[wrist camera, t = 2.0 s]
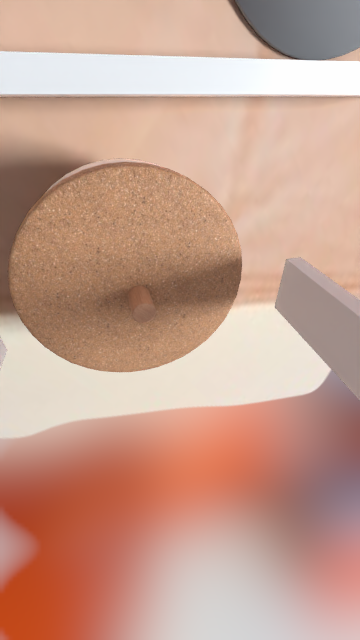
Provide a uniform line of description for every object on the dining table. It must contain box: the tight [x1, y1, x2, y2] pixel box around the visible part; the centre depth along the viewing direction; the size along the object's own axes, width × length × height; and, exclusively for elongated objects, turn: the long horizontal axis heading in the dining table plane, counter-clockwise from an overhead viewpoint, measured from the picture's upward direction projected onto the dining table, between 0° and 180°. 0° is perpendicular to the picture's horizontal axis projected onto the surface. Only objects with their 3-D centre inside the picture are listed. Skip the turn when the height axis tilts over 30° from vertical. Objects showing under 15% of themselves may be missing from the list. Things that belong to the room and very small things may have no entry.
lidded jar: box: [8, 158, 242, 372], centre depth 15 cm, size 11×11×9 cm
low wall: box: [0, 51, 360, 97], centre depth 14 cm, size 22×1×4 cm, turn 90°
